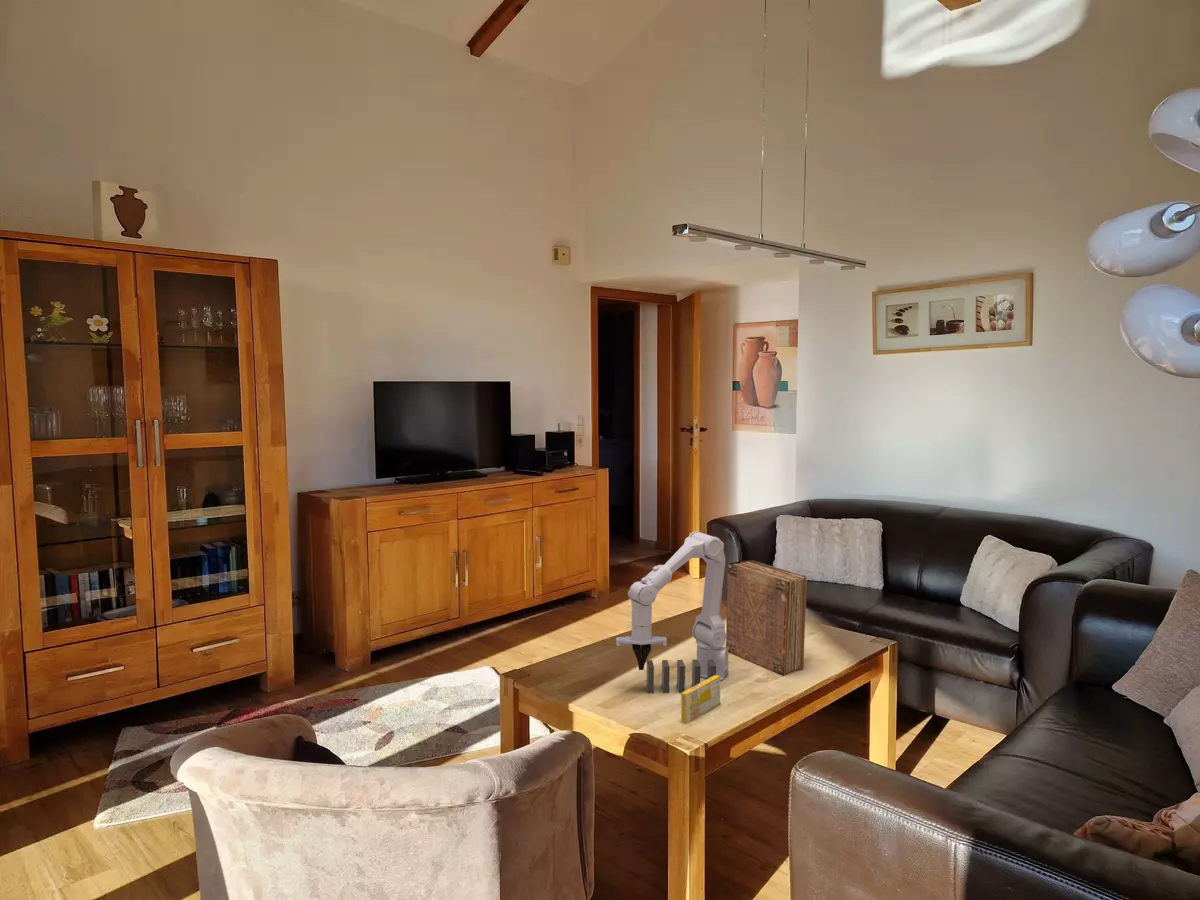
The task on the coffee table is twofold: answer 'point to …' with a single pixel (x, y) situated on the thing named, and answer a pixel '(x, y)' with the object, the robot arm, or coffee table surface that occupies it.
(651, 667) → the domino
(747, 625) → the book
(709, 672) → the domino
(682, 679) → the domino
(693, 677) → the domino
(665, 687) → the domino
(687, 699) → the candy box
